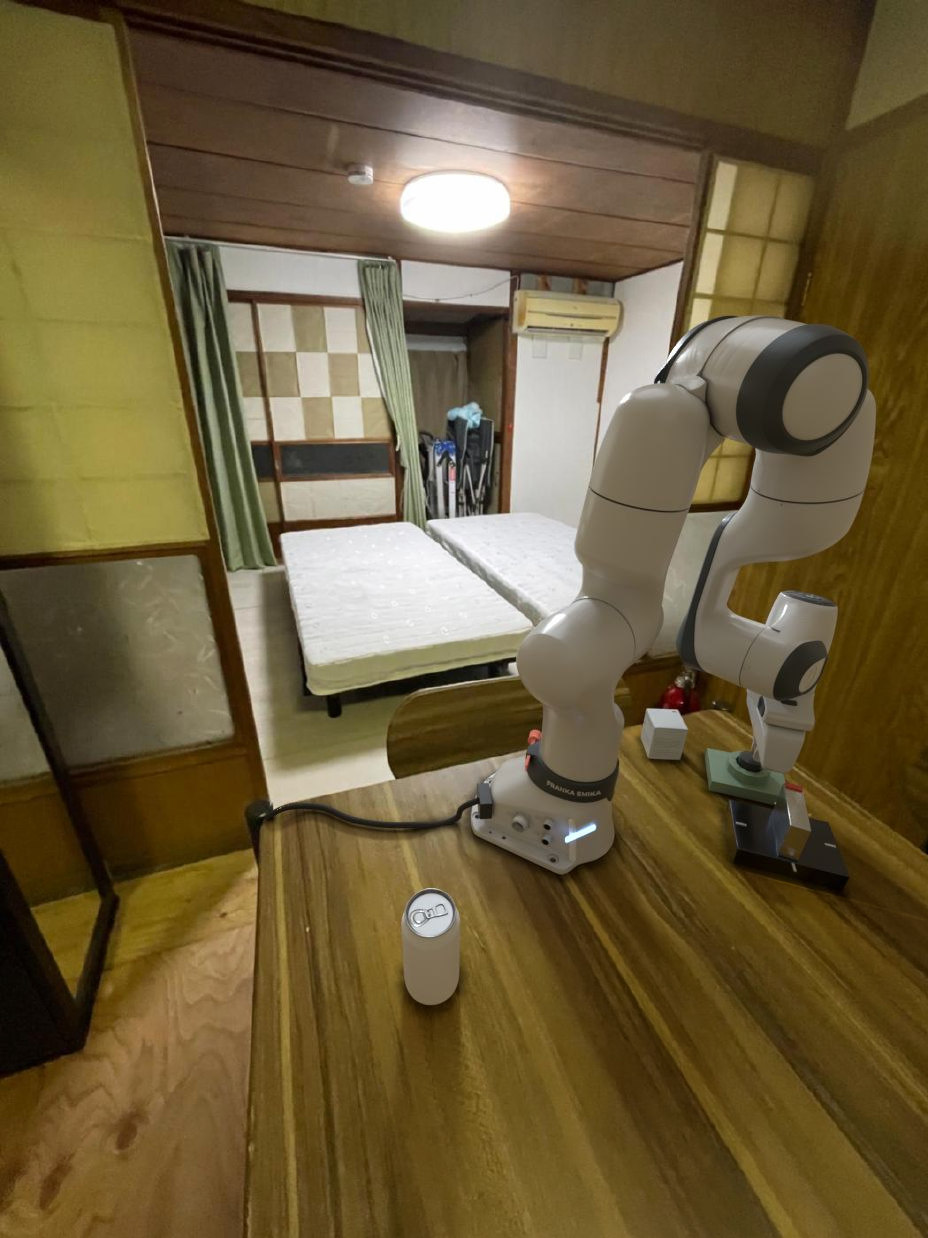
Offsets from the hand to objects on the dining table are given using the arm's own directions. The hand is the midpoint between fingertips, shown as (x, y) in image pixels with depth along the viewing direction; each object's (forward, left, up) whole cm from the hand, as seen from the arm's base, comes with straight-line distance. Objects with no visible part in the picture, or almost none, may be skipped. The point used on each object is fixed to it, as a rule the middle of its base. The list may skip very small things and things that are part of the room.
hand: (757, 756), depth 87 cm
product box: (-15, +5, -6) cm, 17 cm away
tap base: (+2, -13, -6) cm, 15 cm away
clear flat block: (+2, -13, -3) cm, 14 cm away
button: (-1, +1, -3) cm, 3 cm away
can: (-41, -47, -6) cm, 63 cm away
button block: (-1, +1, -6) cm, 6 cm away
